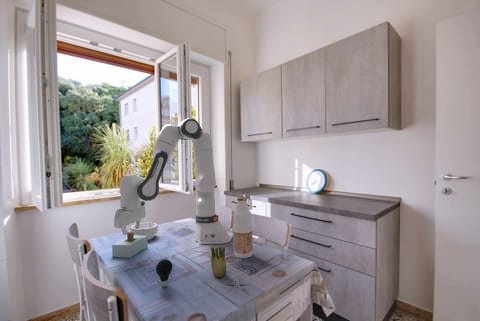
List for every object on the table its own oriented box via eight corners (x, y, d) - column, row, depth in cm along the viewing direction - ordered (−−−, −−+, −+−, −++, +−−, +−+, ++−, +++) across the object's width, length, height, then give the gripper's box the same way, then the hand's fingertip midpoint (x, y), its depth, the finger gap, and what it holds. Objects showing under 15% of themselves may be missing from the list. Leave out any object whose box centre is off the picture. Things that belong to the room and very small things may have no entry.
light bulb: (158, 282, 86) (158, 257, 86) (174, 281, 87) (173, 256, 87) (154, 291, 81) (153, 264, 81) (170, 290, 81) (170, 263, 81)
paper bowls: (162, 234, 143) (162, 222, 143) (148, 243, 128) (148, 229, 128) (140, 233, 146) (140, 221, 146) (124, 242, 131) (124, 228, 131)
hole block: (147, 246, 123) (147, 235, 123) (130, 257, 109) (129, 245, 109) (131, 245, 125) (131, 235, 125) (112, 256, 111) (112, 244, 111)
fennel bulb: (210, 275, 91) (209, 246, 91) (218, 271, 95) (218, 242, 95) (220, 280, 87) (219, 249, 87) (228, 275, 91) (228, 245, 91)
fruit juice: (233, 259, 106) (232, 199, 105) (233, 251, 115) (232, 196, 115) (253, 258, 106) (252, 199, 106) (251, 250, 115) (250, 196, 115)
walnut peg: (135, 250, 118) (134, 231, 118) (131, 252, 116) (131, 233, 115) (130, 250, 119) (129, 231, 119) (126, 252, 116) (125, 233, 116)
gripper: (121, 210, 106) (122, 238, 106) (147, 201, 126) (148, 225, 127) (109, 210, 107) (111, 238, 108) (137, 201, 128) (138, 225, 128)
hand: (131, 231), depth 117 cm, fingers open, 8 cm apart
